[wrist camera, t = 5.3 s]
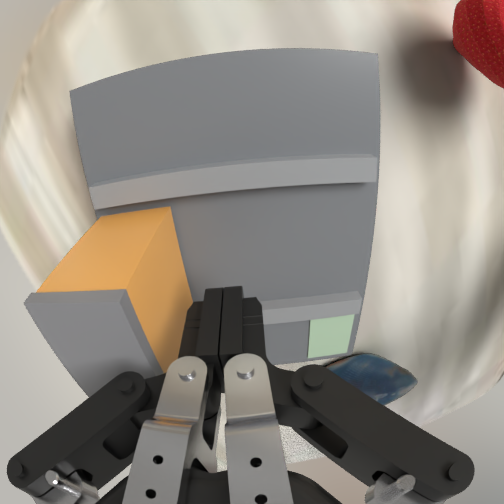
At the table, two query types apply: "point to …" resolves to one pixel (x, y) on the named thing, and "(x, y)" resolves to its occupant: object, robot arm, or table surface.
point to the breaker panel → (251, 178)
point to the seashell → (375, 376)
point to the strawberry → (481, 36)
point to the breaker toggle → (116, 299)
